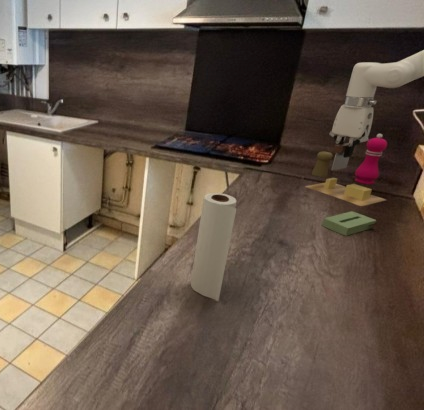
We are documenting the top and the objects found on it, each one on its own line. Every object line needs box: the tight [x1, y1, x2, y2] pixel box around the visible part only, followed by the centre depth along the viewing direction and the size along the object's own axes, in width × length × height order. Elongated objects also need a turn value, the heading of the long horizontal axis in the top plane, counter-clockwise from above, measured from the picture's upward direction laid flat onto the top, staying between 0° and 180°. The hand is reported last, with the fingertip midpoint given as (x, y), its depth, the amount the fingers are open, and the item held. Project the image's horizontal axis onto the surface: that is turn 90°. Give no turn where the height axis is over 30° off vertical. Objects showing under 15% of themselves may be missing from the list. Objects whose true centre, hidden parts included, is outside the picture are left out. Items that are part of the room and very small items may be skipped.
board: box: [305, 181, 387, 207], centre depth 128 cm, size 20×14×2 cm
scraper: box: [330, 142, 358, 171], centre depth 126 cm, size 2×9×9 cm, turn 114°
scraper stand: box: [321, 210, 377, 237], centre depth 105 cm, size 7×13×2 cm, turn 114°
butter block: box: [344, 183, 373, 201], centre depth 123 cm, size 6×4×4 cm, turn 24°
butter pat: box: [324, 177, 338, 189], centre depth 131 cm, size 2×4×4 cm, turn 114°
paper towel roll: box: [190, 192, 238, 302], centre depth 74 cm, size 7×6×21 cm
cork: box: [310, 151, 333, 178], centre depth 144 cm, size 6×6×11 cm
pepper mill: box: [354, 133, 388, 185], centre depth 136 cm, size 7×7×20 cm
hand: (342, 155), depth 126 cm, fingers closed on scraper, 2 cm apart
